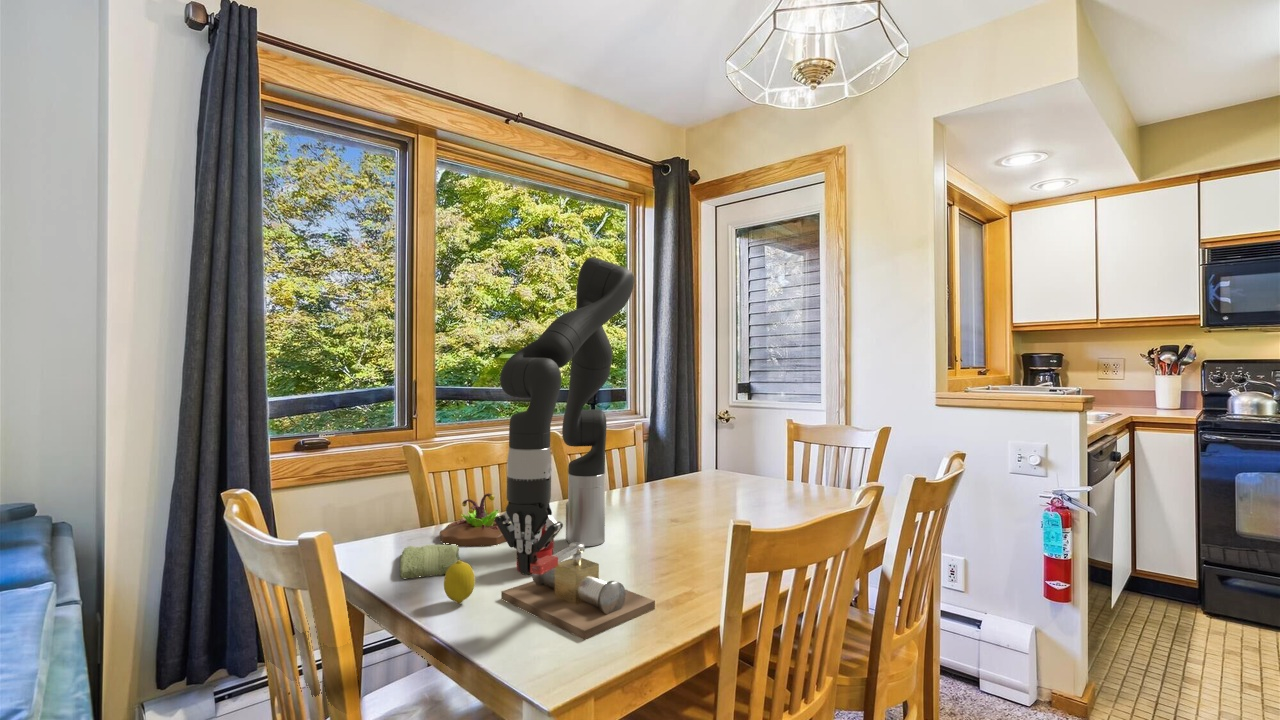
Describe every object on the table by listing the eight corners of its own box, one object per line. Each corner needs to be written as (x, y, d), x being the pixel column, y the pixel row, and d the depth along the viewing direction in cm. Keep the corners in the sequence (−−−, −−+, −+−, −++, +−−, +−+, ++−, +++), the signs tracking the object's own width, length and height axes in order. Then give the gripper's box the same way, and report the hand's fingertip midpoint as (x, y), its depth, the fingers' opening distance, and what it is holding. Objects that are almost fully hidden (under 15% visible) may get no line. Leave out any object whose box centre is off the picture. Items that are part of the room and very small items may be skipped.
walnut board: (501, 599, 112) (501, 591, 112) (570, 576, 125) (570, 569, 125) (584, 640, 96) (584, 630, 96) (654, 608, 108) (654, 600, 108)
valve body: (531, 588, 115) (532, 544, 115) (554, 581, 119) (554, 538, 119) (602, 620, 101) (602, 569, 101) (625, 610, 105) (625, 561, 105)
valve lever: (574, 548, 112) (574, 540, 112) (587, 550, 111) (587, 542, 111) (528, 572, 99) (528, 563, 99) (542, 575, 98) (542, 566, 98)
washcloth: (459, 551, 142) (459, 538, 142) (462, 576, 126) (462, 561, 126) (400, 557, 138) (400, 543, 138) (395, 583, 121) (395, 568, 121)
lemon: (457, 612, 106) (458, 567, 106) (437, 605, 109) (437, 562, 109) (481, 601, 111) (481, 559, 111) (460, 595, 114) (461, 553, 114)
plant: (506, 549, 144) (506, 503, 144) (429, 546, 145) (429, 501, 146) (529, 527, 163) (529, 486, 164) (461, 525, 165) (461, 485, 165)
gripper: (484, 473, 101) (482, 574, 101) (550, 480, 96) (548, 587, 96) (510, 466, 108) (508, 560, 108) (573, 472, 103) (571, 572, 103)
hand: (527, 573), depth 102 cm, fingers closed
